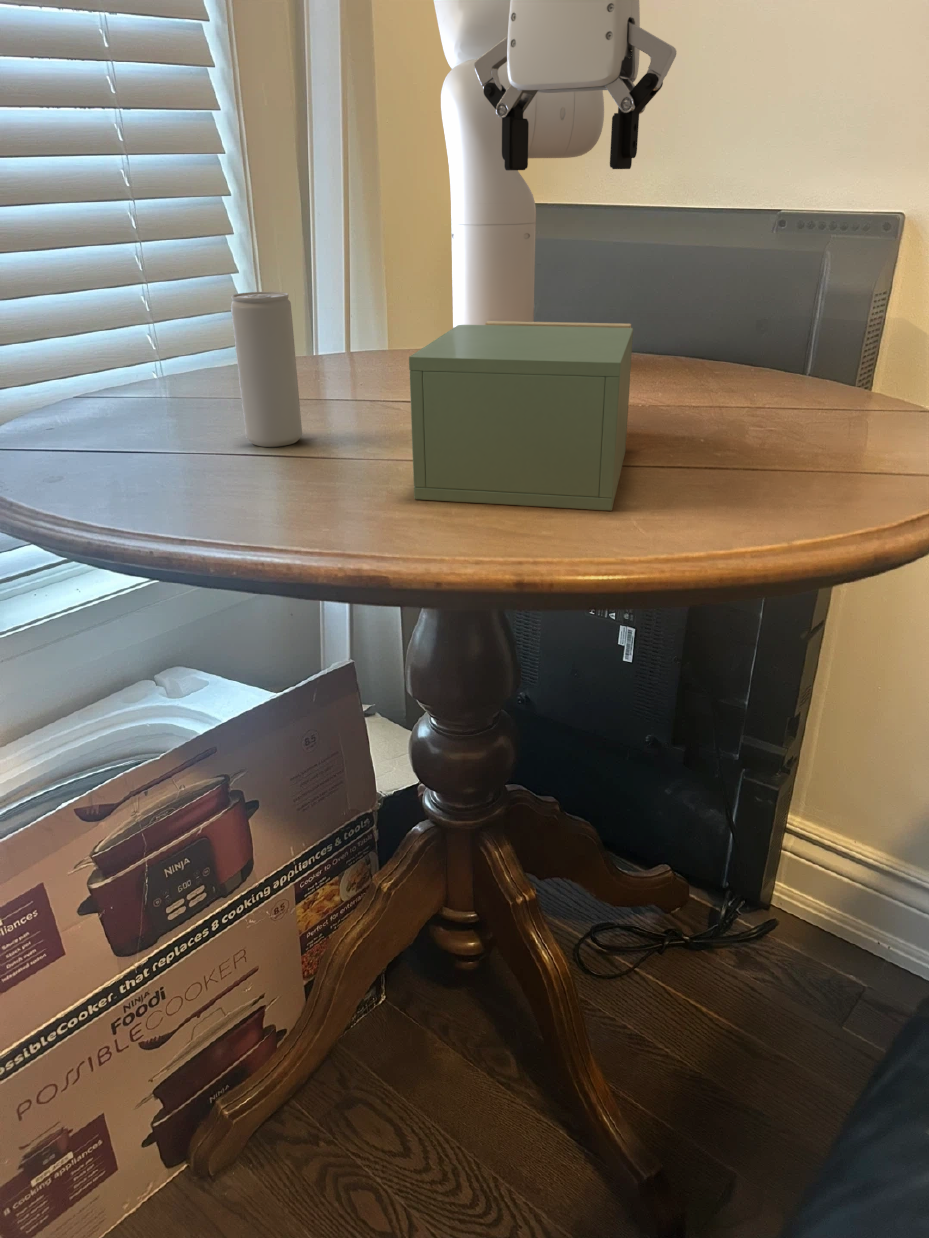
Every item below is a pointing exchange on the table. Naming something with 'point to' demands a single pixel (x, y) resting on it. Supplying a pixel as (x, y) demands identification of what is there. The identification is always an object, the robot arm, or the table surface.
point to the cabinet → (521, 415)
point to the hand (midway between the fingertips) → (566, 169)
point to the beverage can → (267, 367)
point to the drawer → (559, 324)
